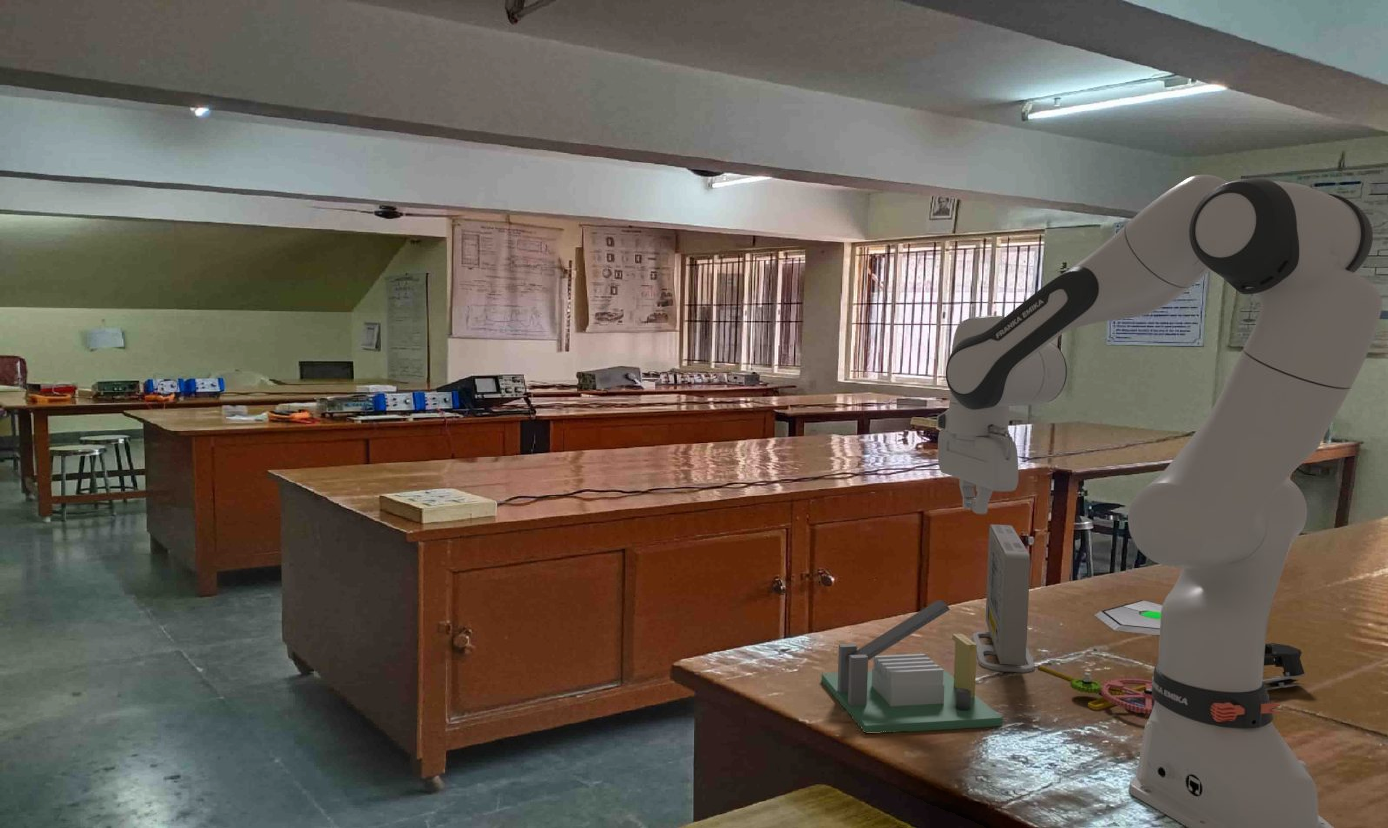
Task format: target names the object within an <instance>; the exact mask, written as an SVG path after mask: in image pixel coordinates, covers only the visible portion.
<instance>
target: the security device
mask: <svg viewBox="0 0 1388 828" xmlns="http://www.w3.org/2000/svg"><path fill="white" fill-rule="evenodd" d="M1162 606H1163V604H1159V603H1155V602H1151V601H1148V600H1147V601H1146V600H1142V599H1141V600H1137V601H1133V602H1130V603H1126V604H1123V605H1119V606H1115V607H1112V608H1108V609H1104V610H1101V611H1099V612H1097V613H1095V614H1094V617H1096V618H1097V619H1098V620H1099V621H1101V622H1103V623H1104V624H1105V625H1107V626H1108V627H1110V628H1111V629H1112V630H1113V631H1116V632H1127V633H1136V634H1146V635H1154V636H1155V635H1156V636H1160V622H1161V609H1162Z"/></svg>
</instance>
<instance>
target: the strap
mask: <svg viewBox="0 0 1388 828" xmlns="http://www.w3.org/2000/svg"><path fill="white" fill-rule="evenodd" d="M950 610H951V609H950V607H949V606H948V604H947V603H945V602H944V601H943V600H941V599H937V600H936V601H934V602H931V603H930V604H929V605H927V606H926V607H924V608H923V609H921V610H919V611H918V612H916V613H915V614H912V616H910V617H908V618H906V619H905V620H903V621H902V622H899V624H897V625H896V626H894V627H892V628H890V629H889V630H887V631H886V632H884V633H883V634H881V635H879V636H877V637H876V638H875V639H873V640H871V641H870V642H868V643H867V644H865V645H863V646H861V647H859V648H857V651H855V652H853V653H852V654H849V655H866V656H867V657H868V661H870V660H871V659H874V657H875V656H879V654H881V653H883V652H884V651H886V650H888V649H890V648H891V647H893V646H894V645H896V644H897V643H899V642H900V641H901V640H903V639H905V638H907V637H908V636H910V635H912V634H913V633H915V632H917V631H918V630H920V629H922V628H923V627H924V626H926V625H927V624H929V623H931V622H933V621H934V620H935V619H937V618H939V617H941V616H942V615H944V614H945V613H946V612H949V611H950ZM849 655H847V656H846V660H847V661H848V662H849Z"/></svg>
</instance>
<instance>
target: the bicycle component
mask: <svg viewBox="0 0 1388 828" xmlns="http://www.w3.org/2000/svg"><path fill="white" fill-rule="evenodd" d="M1301 657H1302V650H1301V649H1299V648H1297V647H1295V646H1294V647H1293V646H1292V645H1288V644H1281V643H1276V642H1271V643H1265V654H1264V667H1265V666H1274V667H1275V668H1277V667H1278V668H1283V671H1282V674H1283V675H1279V676H1274V677H1273V678H1268V679H1263V680H1262V681H1263V682H1264V684H1265V683H1268V684H1265V685H1266V689H1267V691H1269V690H1275V689H1280V688H1281V689H1282V688H1291V687H1295V686H1300V685H1302V683H1299V682H1297V681H1298V679H1296V678H1304V677H1306V675H1305V670H1304V667H1303V664H1302V661H1301ZM1294 682H1295V683H1294ZM1269 684H1272V685H1273V684H1274V685H1276V686H1272V687H1271V686H1270V685H1269Z"/></svg>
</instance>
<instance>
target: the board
mask: <svg viewBox="0 0 1388 828" xmlns="http://www.w3.org/2000/svg"><path fill="white" fill-rule="evenodd" d="M951 637H952V638H951V639H952V640H953V642H954V666H953V668H954V669H953V675H952V674H951V673H949V671H946V669H944V668H943V667H940V666H939V665H938V664H935V662H934V660H931V658H930V657H929V656H927V655H926V653H912V654H911V653H909V654H908V653H907V654H891V655H890V654H887V655H876V656H875V657H873V667H872V668H871V670H869V660H868V657H867V656H866V655H849V654H852V653H853V652H855V651H857V650H858V646H857V645H856V644H855V643H843V644H842V643H841V644H838V655H837V656H838V657H837V658H838V659H837V661H838V662H837V663H838V665H837V672H828V673H827V672H826V673H821V682H822V684H823V685H824V686H825V687H826V688H827V690H828V691H829V692H830V694H832V696H833V695H834V696H833V697H834V699H835V700H836V701H837V700H838V701H839V702H840V703H839V702H838V701H837V702H838V703H839V705H841V706H843V707H842V708H843V709H844V708H845V709H846V710H845V709H844V710H845V712H846V713H847V712H848V713H849V714H850V715H851V716H852V717H853V719H854V720H855V721H856V722H857V723H858V724H859V726H860V727H862V729H863V730H864V731H865V732H881V731H882V732H883V731H884V732H885V731H886V732H889V731H890V732H893V731H895V732H894V733H900V732H899V731H910V732H925V731H940V730H955V729H957V730H959V729H960V730H961V729H975V728H990V727H1002V726H1003V716H1001V715H1000V714H999V713H998V712H997V711H995V710H994V709H993V708H991V707H990V706H989V705H988V704H987V703H986V702H984V700H982V699H980V697H978V695H976V678H977V677H976V675H977V674H976V673H977V670H976V669H977V644H976V643H974V642H973V640H971V639H970V638H968V637H967V636H966V635H965V634H963V633H952V636H951ZM847 655H849V662H848V661H847V660H846V656H847ZM848 713H847V714H848ZM849 714H848V715H849ZM850 715H849V716H850ZM851 716H850V717H851ZM853 719H852V720H853ZM854 720H853V721H854ZM855 721H854V722H855ZM856 722H855V723H856ZM859 726H858V727H859ZM860 727H859V728H860ZM897 731H898V732H897Z"/></svg>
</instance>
